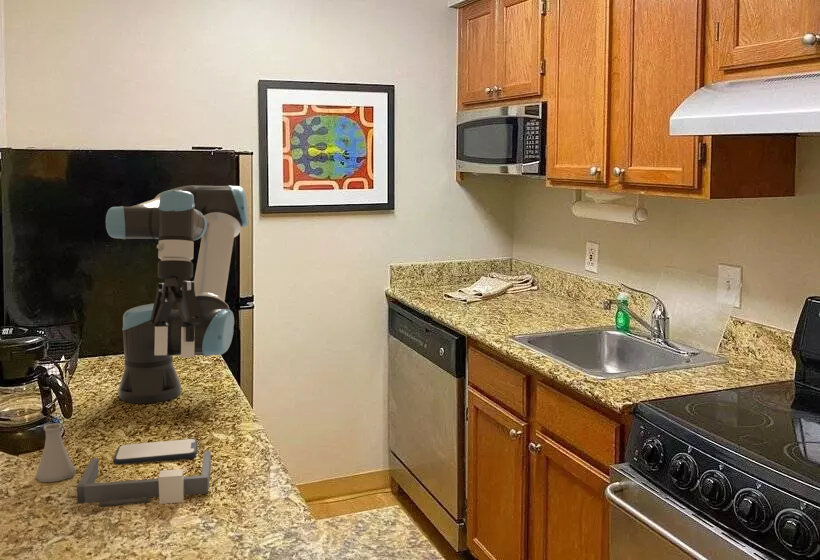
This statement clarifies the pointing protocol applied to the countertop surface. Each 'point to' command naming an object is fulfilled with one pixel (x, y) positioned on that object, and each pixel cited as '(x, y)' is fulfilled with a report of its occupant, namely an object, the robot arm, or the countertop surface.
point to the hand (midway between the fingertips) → (173, 356)
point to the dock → (143, 486)
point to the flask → (54, 457)
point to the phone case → (156, 451)
